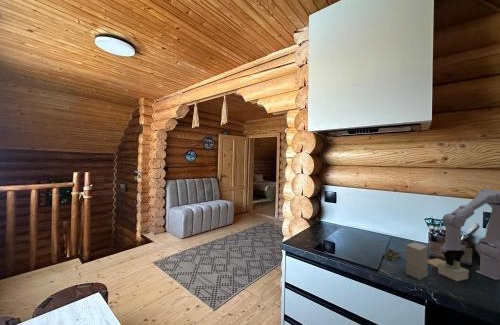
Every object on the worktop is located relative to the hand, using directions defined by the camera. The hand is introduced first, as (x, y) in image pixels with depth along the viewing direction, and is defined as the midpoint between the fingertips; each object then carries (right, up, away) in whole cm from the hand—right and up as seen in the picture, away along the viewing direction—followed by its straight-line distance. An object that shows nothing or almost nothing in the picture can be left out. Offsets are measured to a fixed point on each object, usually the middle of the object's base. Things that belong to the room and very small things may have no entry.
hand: (452, 264), depth 107 cm
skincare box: (-18, -6, +1) cm, 19 cm away
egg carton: (-17, -6, +20) cm, 27 cm away
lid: (0, -2, 0) cm, 2 cm away
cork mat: (+4, -6, +11) cm, 14 cm away
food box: (0, -6, 0) cm, 6 cm away
